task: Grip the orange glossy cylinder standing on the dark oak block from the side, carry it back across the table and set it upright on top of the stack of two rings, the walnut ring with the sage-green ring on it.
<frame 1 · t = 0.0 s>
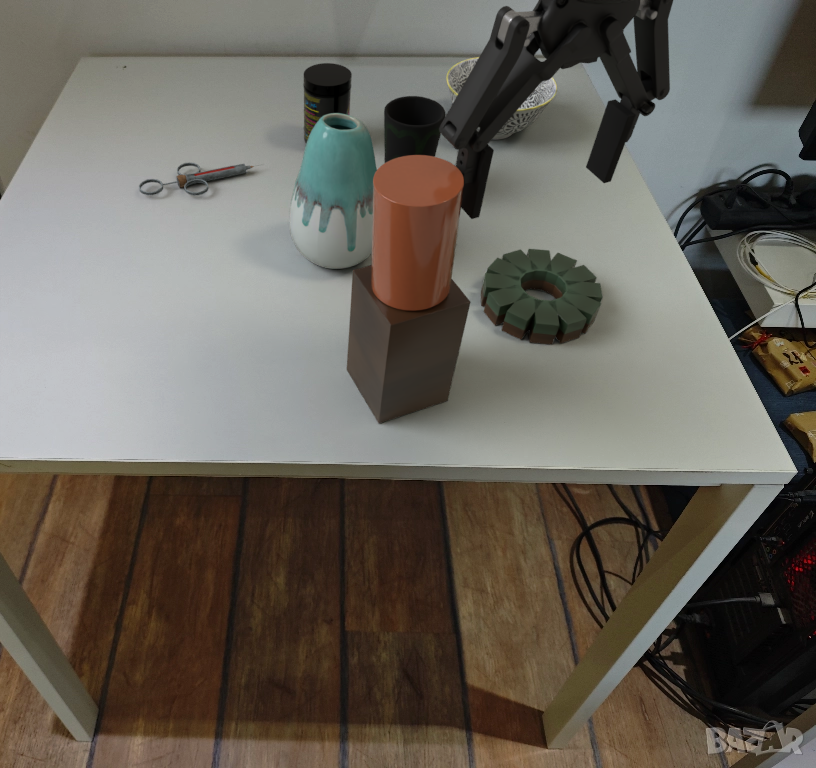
hand: (534, 192, 64), 21 cm above the table, tool pointing down, fingers open, 13 cm apart
orange glossy cylinder: (410, 283, 66), point 14 cm above the table, touching gripper, oak block
ring stack: (536, 304, 85), on the table
syringe: (203, 183, 101), on the table
vase: (335, 252, 91), on the table
bowl: (491, 129, 111), on the table
supplement container: (326, 143, 108), on the table
cup: (404, 193, 100), on the table
oak block: (396, 385, 76), on the table
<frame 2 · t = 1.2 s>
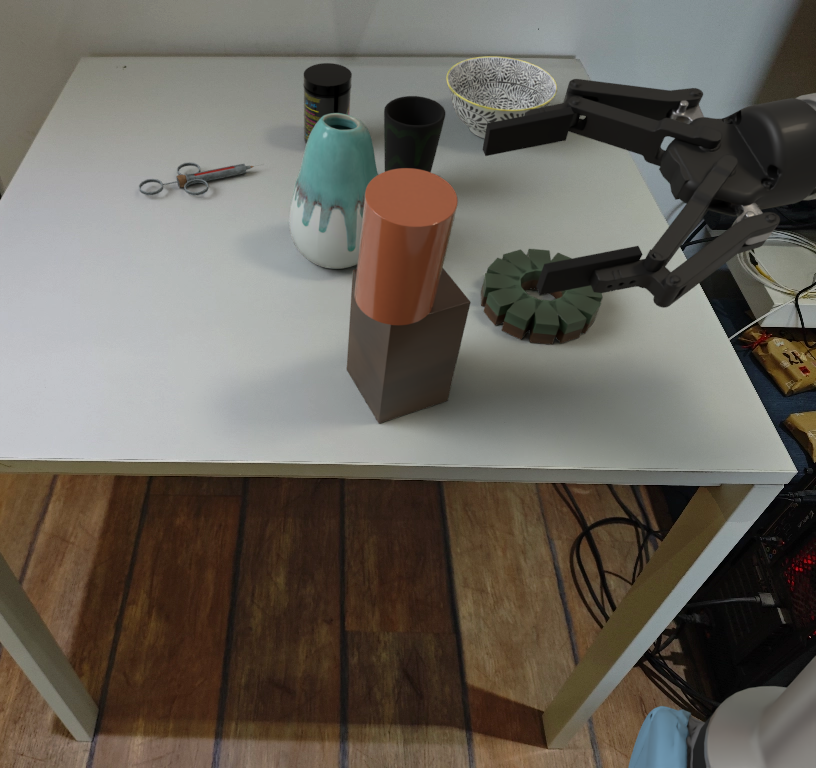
hand: (511, 205, 53), 26 cm above the table, tool horizontal, fingers open, 13 cm apart
orange glossy cylinder: (394, 295, 65), point 14 cm above the table, touching oak block
everything else where it was.
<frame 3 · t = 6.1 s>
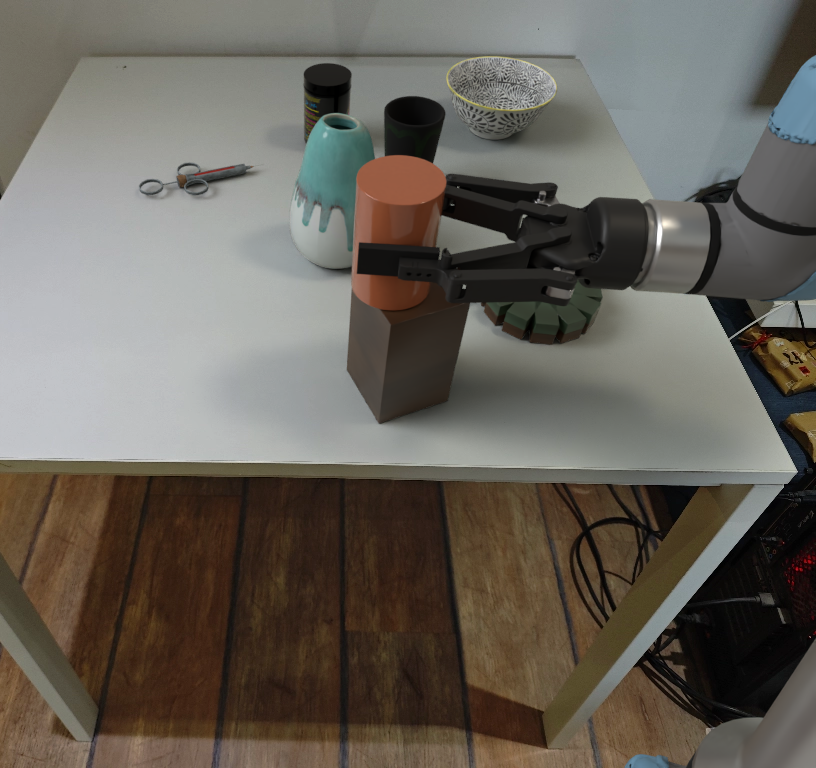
hand: (360, 228, 62), 20 cm above the table, tool horizontal, fingers closed on orange glossy cylinder, 7 cm apart
orange glossy cylinder: (390, 284, 66), point 14 cm above the table, touching gripper, oak block
everything else where it was.
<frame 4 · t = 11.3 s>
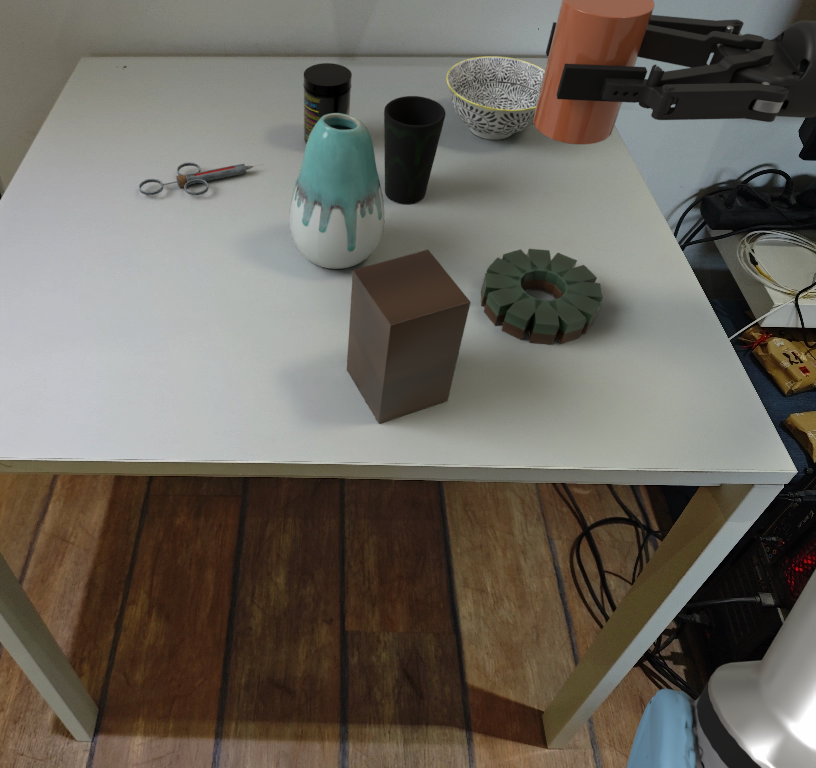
hand: (555, 59, 63), 29 cm above the table, tool horizontal, fingers closed on orange glossy cylinder, 7 cm apart
orange glossy cylinder: (572, 124, 67), point 23 cm above the table, touching gripper
everything else where it was.
when the fingers open (9 cm above the table, at t = 16.8 s): orange glossy cylinder stays where it is, resting on ring stack.
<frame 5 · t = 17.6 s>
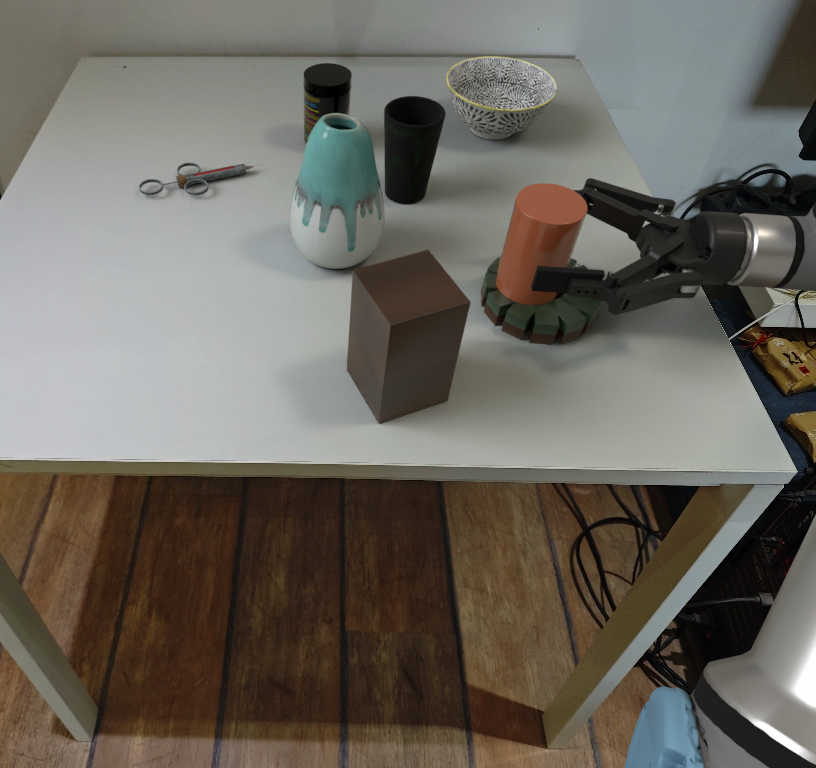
hand: (527, 237, 78), 10 cm above the table, tool horizontal, fingers open, 13 cm apart
orange glossy cylinder: (527, 283, 82), point 3 cm above the table, touching ring stack
everything else where it was.
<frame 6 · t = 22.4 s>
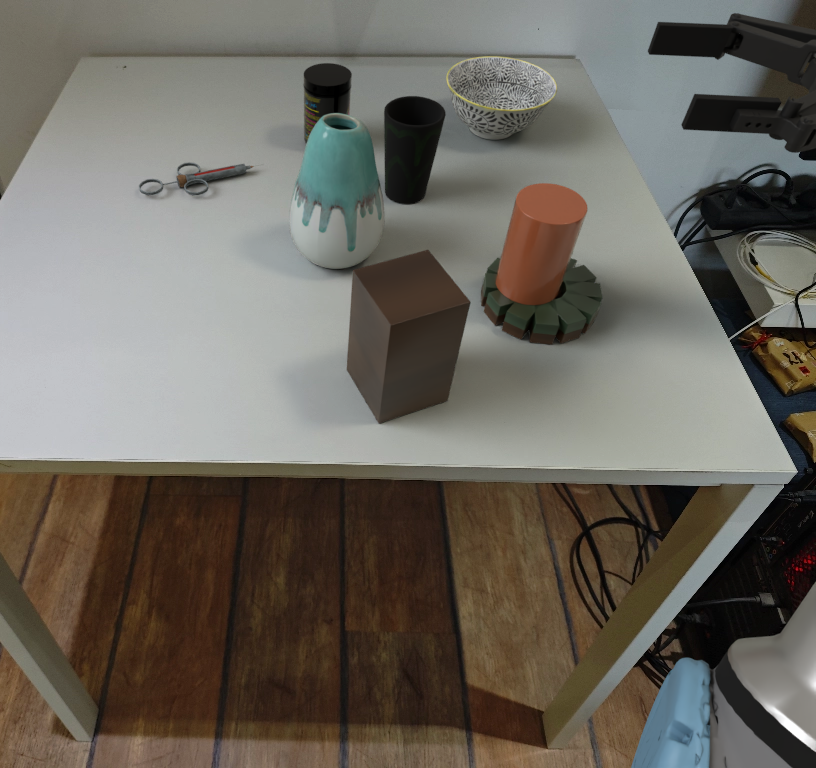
hand: (669, 72, 63), 28 cm above the table, tool horizontal, fingers open, 13 cm apart
nothing on the table moved.
at the end: orange glossy cylinder 1.8 cm off-centre on the ring stack, point 3.0 cm above the ring stack's base; orange glossy cylinder tilted 0°; the gripper is holding nothing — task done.
